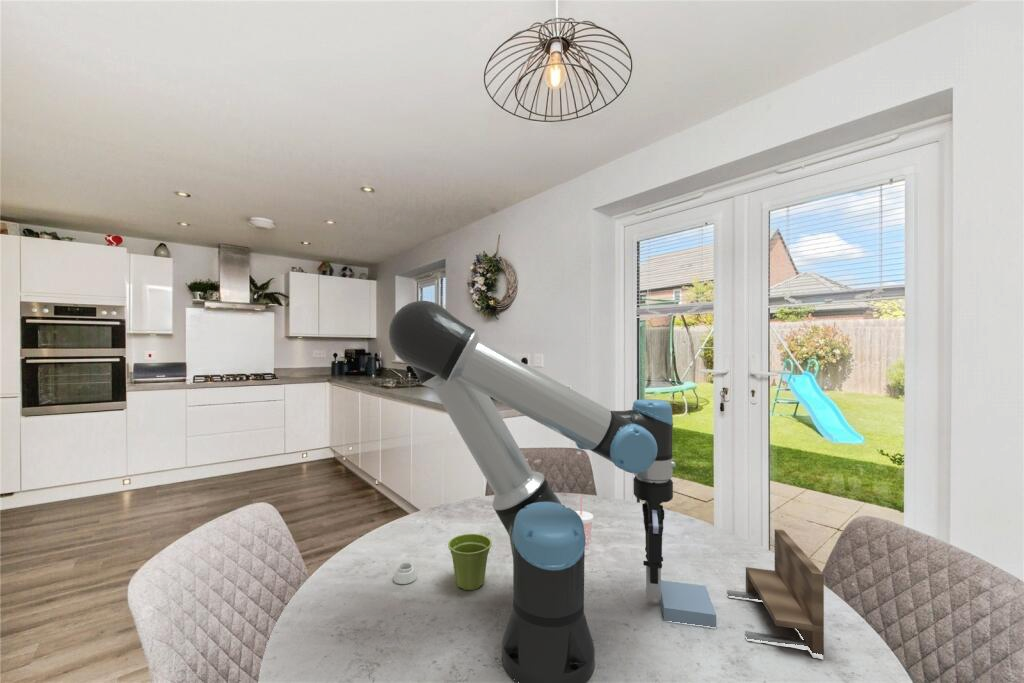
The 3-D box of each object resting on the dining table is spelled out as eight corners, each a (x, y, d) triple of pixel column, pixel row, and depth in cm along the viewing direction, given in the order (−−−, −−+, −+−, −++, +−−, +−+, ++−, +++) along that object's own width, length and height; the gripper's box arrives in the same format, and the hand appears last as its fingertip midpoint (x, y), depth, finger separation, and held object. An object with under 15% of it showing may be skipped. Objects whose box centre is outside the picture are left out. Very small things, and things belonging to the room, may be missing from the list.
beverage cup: (598, 554, 106) (598, 497, 107) (576, 558, 104) (576, 500, 104) (584, 544, 112) (585, 490, 112) (564, 547, 110) (564, 492, 110)
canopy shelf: (823, 660, 71) (823, 574, 71) (749, 648, 73) (750, 565, 74) (783, 598, 88) (783, 529, 88) (724, 590, 91) (724, 524, 91)
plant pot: (450, 598, 87) (451, 555, 87) (445, 574, 96) (445, 535, 96) (495, 591, 90) (496, 550, 90) (486, 569, 99) (486, 531, 99)
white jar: (389, 584, 93) (410, 587, 92) (389, 570, 93) (411, 573, 92) (399, 572, 97) (420, 575, 96) (399, 559, 97) (420, 561, 96)
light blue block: (716, 631, 78) (716, 614, 78) (664, 623, 81) (664, 607, 81) (705, 600, 88) (705, 585, 88) (659, 594, 90) (659, 579, 90)
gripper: (677, 489, 79) (677, 619, 79) (668, 469, 92) (669, 581, 91) (634, 486, 81) (635, 613, 80) (632, 467, 93) (632, 577, 93)
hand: (653, 596), depth 86 cm, fingers closed
